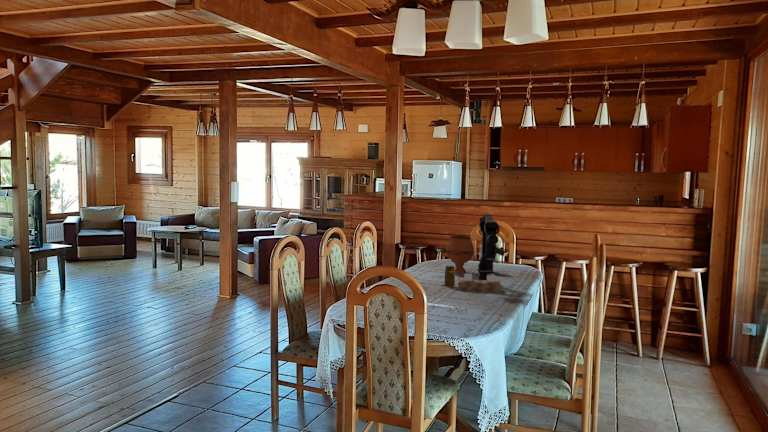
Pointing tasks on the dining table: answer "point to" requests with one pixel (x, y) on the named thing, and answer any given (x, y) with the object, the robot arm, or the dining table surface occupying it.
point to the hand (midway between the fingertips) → (490, 269)
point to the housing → (479, 286)
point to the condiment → (449, 277)
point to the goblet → (460, 251)
